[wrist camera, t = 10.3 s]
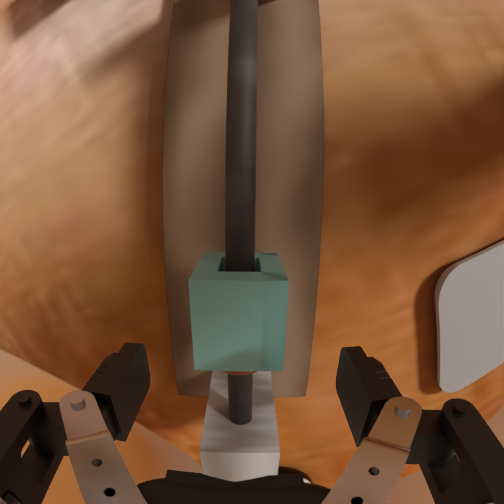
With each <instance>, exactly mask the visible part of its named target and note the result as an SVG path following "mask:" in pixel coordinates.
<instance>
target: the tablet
mask: <svg viewBox="0 0 504 504" xmlns="http://www.w3.org/2000/svg"><path fill="white" fill-rule="evenodd" d="M435 309H436V326H437V382H438V385H439V387H440V388H441V389H442V390H443V391H444V392H447V393H452V392H456V391H458V390H460V389H462V388H464V387H466V386H467V385H469V384H471V383H472V382H474V381H476V380H477V379H479V378H480V377H482V376H484V375H485V374H487V373H488V372H490V371H491V370H493V369H494V368H496V367H497V366H499V365H500V364H502V363H503V362H504V240H502V241H500V242H498V243H496V244H494V245H492V246H490V247H488V248H486V249H484V250H482V251H480V252H478V253H476V254H474V255H472V256H470V257H467V258H465V259H463V260H461V261H459V262H457V263H455V264H453V265H451V266H449V267H448V268H447V269H446V270H445V271H444V272H443V273H442V274H441V276H440V277H439V279H438V281H437V284H436V287H435Z"/></svg>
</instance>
